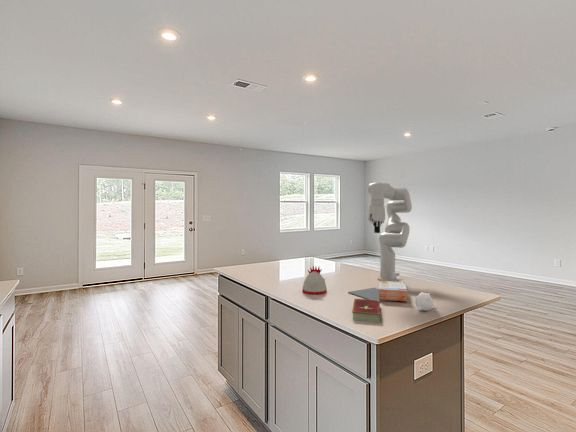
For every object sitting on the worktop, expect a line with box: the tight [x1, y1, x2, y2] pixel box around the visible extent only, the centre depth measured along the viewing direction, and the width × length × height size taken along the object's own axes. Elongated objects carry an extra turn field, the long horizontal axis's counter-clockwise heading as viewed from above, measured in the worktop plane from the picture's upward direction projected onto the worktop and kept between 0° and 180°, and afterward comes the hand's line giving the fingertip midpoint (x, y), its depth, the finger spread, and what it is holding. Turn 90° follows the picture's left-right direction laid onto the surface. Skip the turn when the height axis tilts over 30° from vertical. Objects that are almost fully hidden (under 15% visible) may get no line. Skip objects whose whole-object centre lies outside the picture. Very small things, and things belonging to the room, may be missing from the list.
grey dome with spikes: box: [302, 265, 328, 296], centre depth 186 cm, size 14×14×15 cm
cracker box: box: [378, 280, 408, 302], centre depth 175 cm, size 14×6×21 cm
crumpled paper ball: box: [414, 291, 438, 312], centre depth 154 cm, size 9×11×12 cm
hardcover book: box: [351, 298, 382, 323], centre depth 148 cm, size 12×21×4 cm, turn 165°
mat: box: [347, 287, 390, 303], centre depth 178 cm, size 20×22×1 cm
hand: (377, 232), depth 197 cm, fingers closed
